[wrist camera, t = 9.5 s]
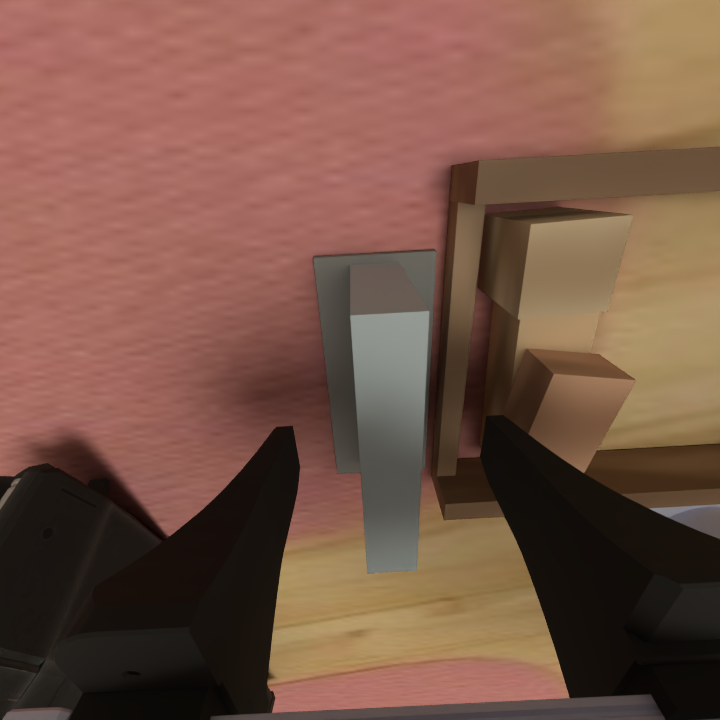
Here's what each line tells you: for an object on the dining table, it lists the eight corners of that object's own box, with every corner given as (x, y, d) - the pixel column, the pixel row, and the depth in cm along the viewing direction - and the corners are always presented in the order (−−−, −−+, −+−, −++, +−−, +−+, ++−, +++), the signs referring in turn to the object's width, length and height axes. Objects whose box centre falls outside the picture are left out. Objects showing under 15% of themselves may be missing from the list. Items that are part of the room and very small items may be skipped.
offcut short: (546, 281, 15) (607, 311, 11) (477, 287, 15) (517, 319, 11) (559, 206, 13) (633, 214, 10) (483, 213, 14) (530, 224, 10)
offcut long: (530, 435, 19) (559, 476, 17) (477, 440, 19) (498, 481, 17) (558, 279, 15) (603, 300, 12) (491, 285, 15) (521, 308, 13)
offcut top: (552, 449, 16) (578, 482, 14) (491, 445, 16) (509, 479, 14) (598, 354, 13) (636, 380, 12) (526, 348, 13) (553, 373, 12)
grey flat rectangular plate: (423, 463, 20) (424, 468, 19) (337, 468, 20) (337, 473, 19) (434, 249, 14) (436, 250, 14) (314, 256, 14) (313, 258, 14)
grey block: (398, 461, 19) (416, 570, 14) (362, 463, 19) (367, 573, 14) (398, 262, 14) (429, 311, 9) (350, 264, 14) (350, 315, 9)
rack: (745, 457, 20) (843, 525, 16) (431, 475, 20) (451, 548, 16) (950, 136, 13) (1227, 115, 9) (451, 165, 13) (499, 157, 9)
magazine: (266, 847, 25) (-682, 1607, 4) (225, 851, 25) (-865, 1587, 4) (283, 579, 37) (63, 433, 16) (255, 584, 38) (4, 445, 17)
